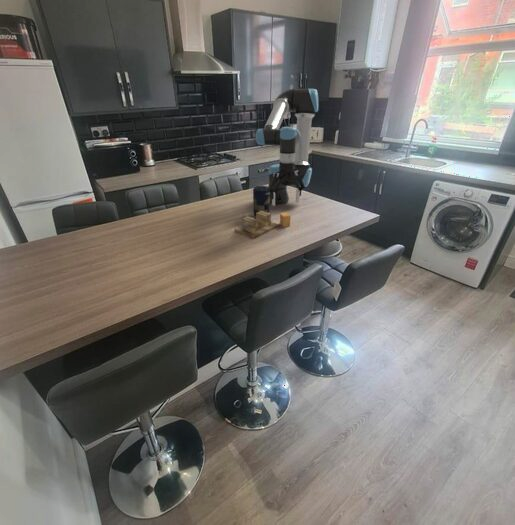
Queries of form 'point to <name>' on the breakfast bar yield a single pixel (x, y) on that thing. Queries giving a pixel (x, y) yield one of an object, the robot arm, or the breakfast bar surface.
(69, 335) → the breakfast bar surface
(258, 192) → the canister
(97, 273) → the breakfast bar surface
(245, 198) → the breakfast bar surface
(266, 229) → the shaft bench
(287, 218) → the orange rectangular block
